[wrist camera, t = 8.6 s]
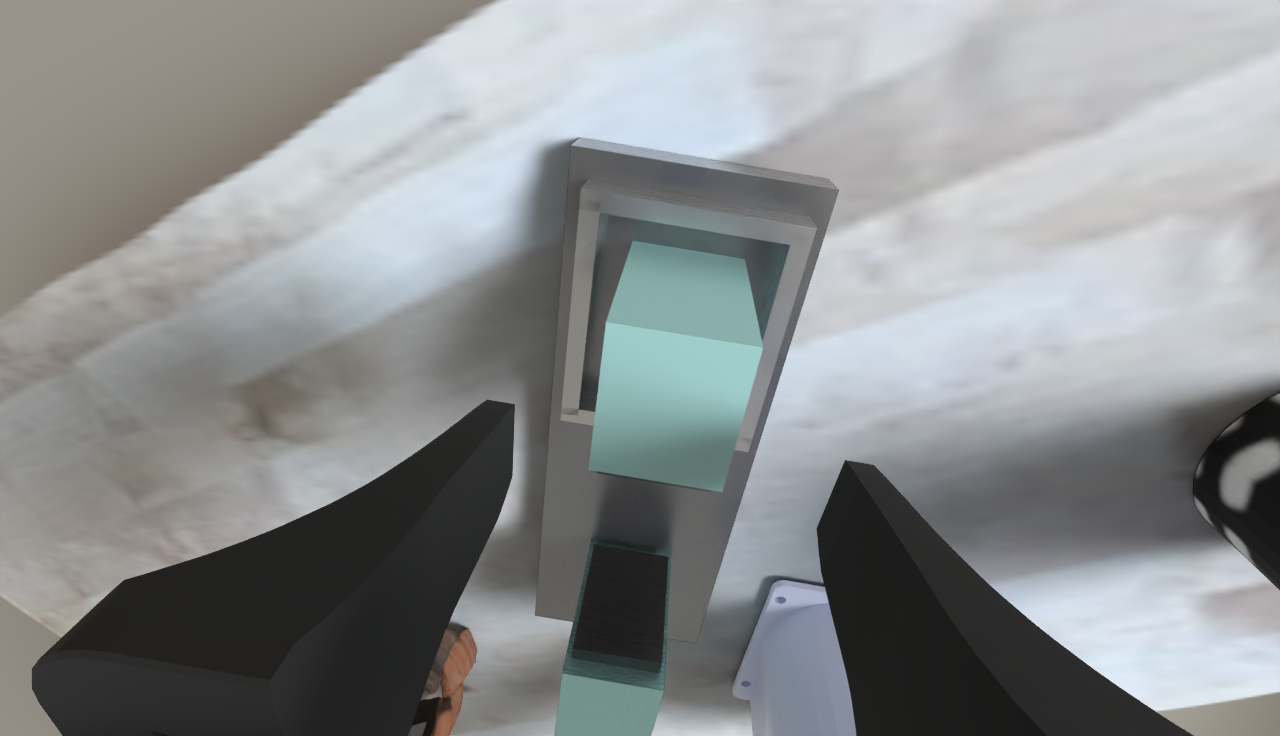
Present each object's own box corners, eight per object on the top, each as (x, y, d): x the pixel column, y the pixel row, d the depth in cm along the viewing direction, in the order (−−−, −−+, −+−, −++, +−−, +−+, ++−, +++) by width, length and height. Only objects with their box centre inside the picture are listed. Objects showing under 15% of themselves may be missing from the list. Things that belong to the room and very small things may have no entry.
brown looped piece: (286, 611, 33) (219, 706, 25) (441, 534, 35) (424, 600, 27) (384, 770, 35) (350, 904, 27) (525, 691, 37) (532, 795, 29)
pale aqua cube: (632, 240, 18) (605, 322, 13) (744, 259, 18) (763, 347, 13) (614, 374, 21) (586, 486, 15) (713, 390, 21) (718, 508, 15)
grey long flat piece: (696, 616, 29) (695, 780, 23) (542, 589, 29) (497, 746, 23) (828, 179, 18) (901, 257, 12) (580, 137, 18) (513, 192, 12)
